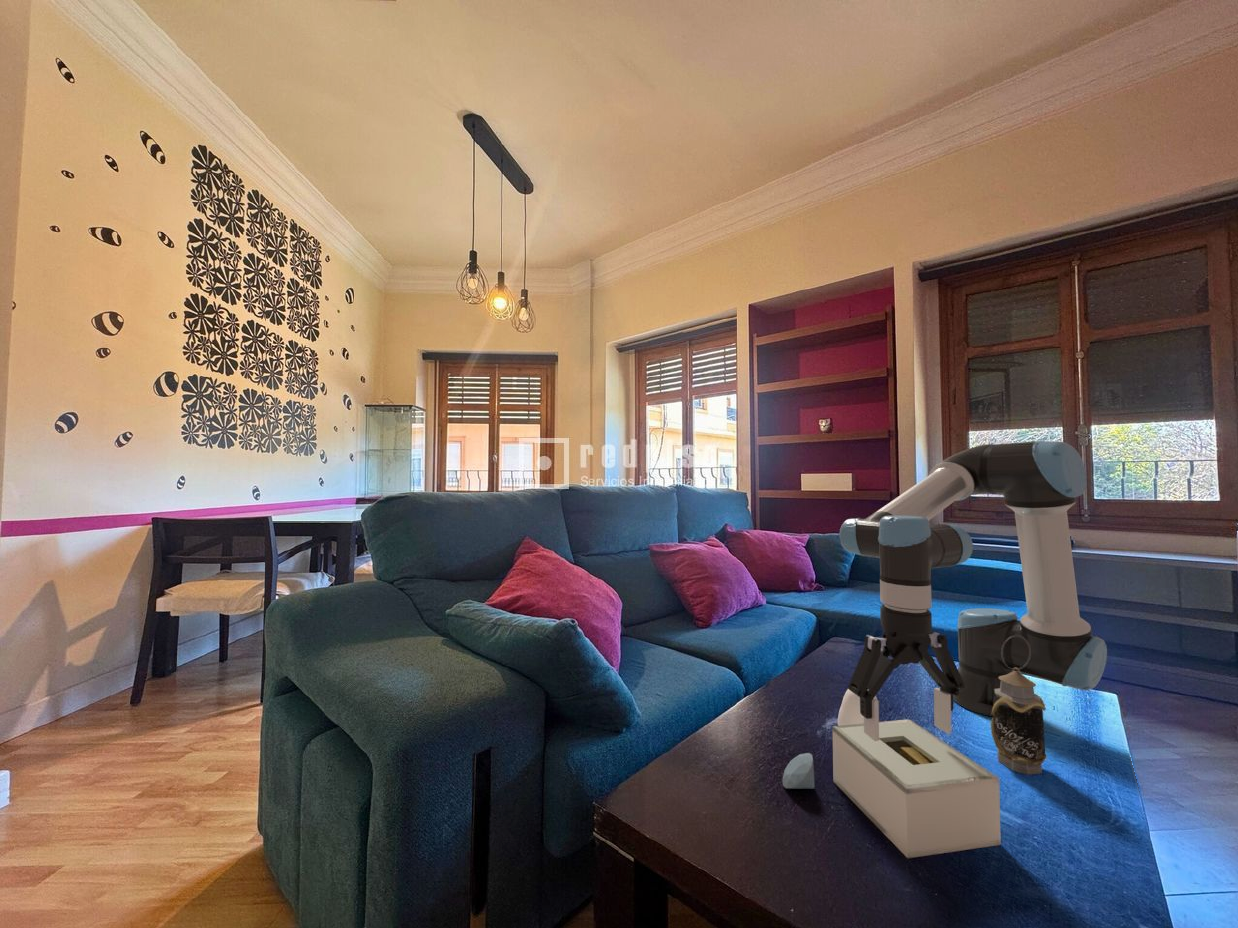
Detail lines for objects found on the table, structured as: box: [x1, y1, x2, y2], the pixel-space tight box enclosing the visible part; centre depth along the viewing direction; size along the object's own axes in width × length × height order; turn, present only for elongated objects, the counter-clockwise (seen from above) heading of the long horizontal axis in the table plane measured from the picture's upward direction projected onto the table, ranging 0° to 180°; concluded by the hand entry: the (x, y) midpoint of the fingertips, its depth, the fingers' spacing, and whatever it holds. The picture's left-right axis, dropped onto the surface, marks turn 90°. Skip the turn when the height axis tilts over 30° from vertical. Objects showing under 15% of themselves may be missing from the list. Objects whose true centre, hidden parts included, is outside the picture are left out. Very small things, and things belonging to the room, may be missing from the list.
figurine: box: [837, 688, 878, 726], centre depth 101 cm, size 7×8×12 cm
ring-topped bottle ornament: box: [990, 635, 1048, 776], centre depth 93 cm, size 9×8×25 cm
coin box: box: [832, 718, 1002, 859], centre depth 80 cm, size 16×18×10 cm
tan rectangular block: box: [899, 747, 933, 765], centre depth 80 cm, size 3×5×8 cm, turn 12°
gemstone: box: [782, 752, 815, 790], centre depth 86 cm, size 8×8×5 cm
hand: (907, 733), depth 80 cm, fingers open, 13 cm apart
